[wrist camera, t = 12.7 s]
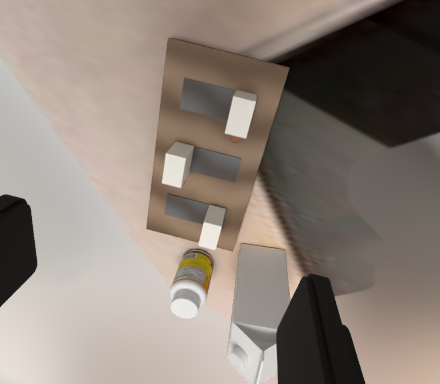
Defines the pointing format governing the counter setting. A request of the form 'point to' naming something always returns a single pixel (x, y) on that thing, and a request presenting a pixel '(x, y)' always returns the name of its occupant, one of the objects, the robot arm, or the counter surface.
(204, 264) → the supplement bottle
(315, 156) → the counter surface
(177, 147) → the knob middle
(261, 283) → the milk carton
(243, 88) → the switch board
